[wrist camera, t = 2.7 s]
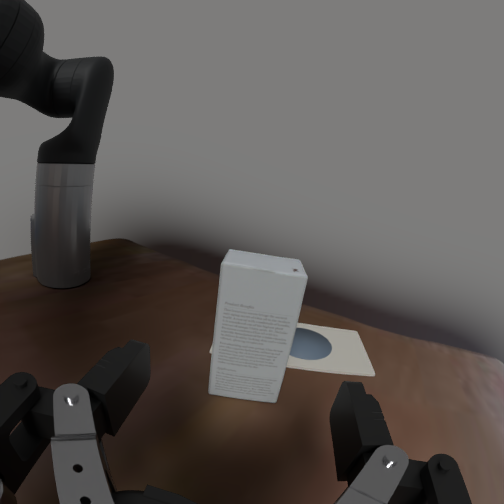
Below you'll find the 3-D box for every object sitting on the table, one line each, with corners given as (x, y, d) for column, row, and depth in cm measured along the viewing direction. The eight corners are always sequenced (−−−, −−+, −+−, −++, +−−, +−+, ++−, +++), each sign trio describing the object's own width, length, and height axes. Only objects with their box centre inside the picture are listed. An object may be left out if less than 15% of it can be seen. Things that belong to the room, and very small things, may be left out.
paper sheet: (209, 353, 28) (209, 349, 28) (226, 312, 38) (227, 309, 38) (374, 376, 27) (375, 373, 27) (356, 333, 37) (357, 330, 37)
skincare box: (275, 375, 26) (302, 259, 23) (276, 405, 22) (310, 276, 19) (213, 366, 26) (228, 247, 23) (205, 394, 22) (220, 262, 19)
